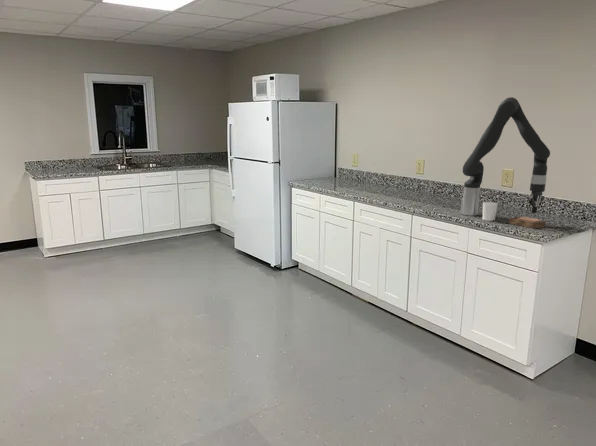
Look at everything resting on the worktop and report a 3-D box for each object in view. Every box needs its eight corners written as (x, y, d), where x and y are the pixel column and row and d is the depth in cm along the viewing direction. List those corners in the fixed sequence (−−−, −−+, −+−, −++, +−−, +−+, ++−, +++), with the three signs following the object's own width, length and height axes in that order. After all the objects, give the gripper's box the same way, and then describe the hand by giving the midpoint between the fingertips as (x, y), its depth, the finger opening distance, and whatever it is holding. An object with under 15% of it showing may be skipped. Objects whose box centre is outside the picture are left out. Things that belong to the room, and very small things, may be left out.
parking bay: (509, 223, 264) (509, 218, 263) (520, 221, 269) (520, 216, 268) (533, 228, 251) (534, 223, 251) (545, 226, 257) (545, 221, 256)
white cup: (492, 218, 277) (493, 201, 275) (498, 221, 270) (499, 204, 268) (479, 218, 277) (480, 201, 275) (484, 221, 269) (486, 204, 267)
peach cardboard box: (516, 223, 263) (517, 217, 262) (524, 222, 266) (524, 216, 266) (533, 227, 254) (534, 221, 254) (540, 225, 258) (541, 219, 257)
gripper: (538, 181, 265) (534, 210, 269) (524, 182, 258) (521, 212, 262) (551, 182, 259) (547, 213, 263) (537, 184, 252) (533, 215, 256)
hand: (534, 212), depth 262 cm, fingers closed
